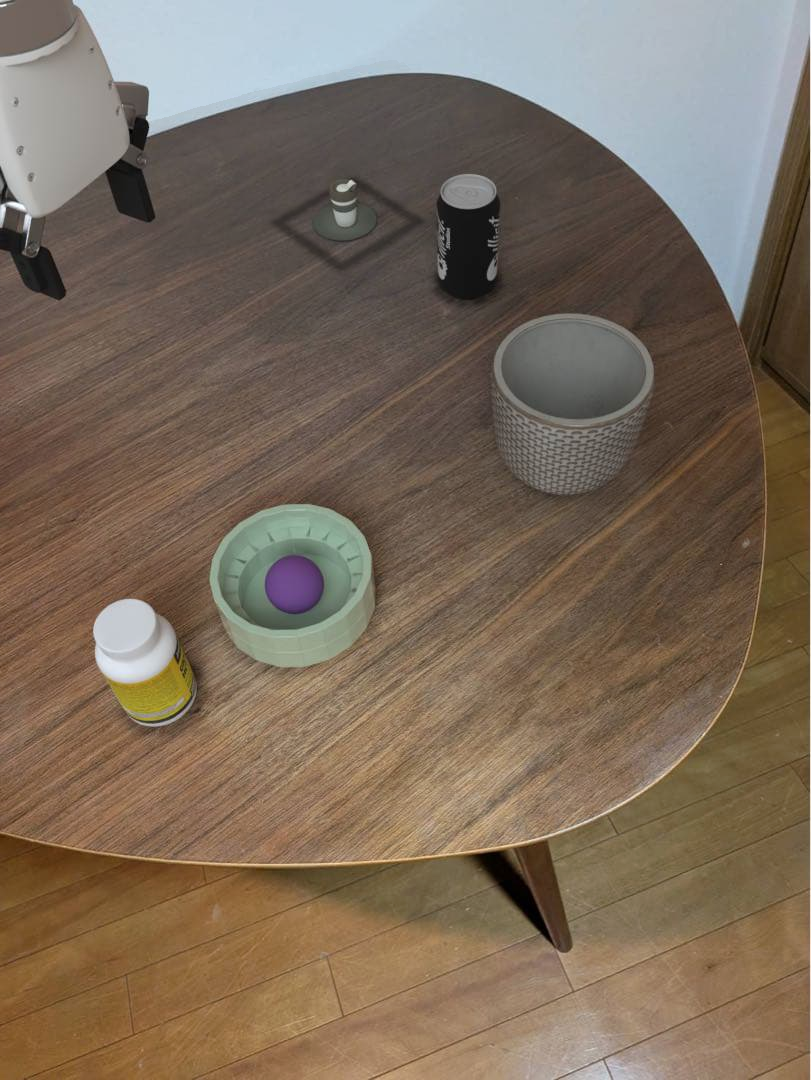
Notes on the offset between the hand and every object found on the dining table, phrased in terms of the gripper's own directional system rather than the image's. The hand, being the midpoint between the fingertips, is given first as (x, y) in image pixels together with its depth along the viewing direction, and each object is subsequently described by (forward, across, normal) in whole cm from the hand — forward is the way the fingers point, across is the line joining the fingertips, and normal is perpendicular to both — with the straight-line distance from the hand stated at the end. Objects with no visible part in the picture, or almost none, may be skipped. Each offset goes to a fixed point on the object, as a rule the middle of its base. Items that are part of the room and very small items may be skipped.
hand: (94, 252), depth 71 cm
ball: (+28, +4, +16) cm, 32 cm away
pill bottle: (+28, +17, +11) cm, 35 cm away
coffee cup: (+28, -43, -9) cm, 53 cm away
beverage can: (+28, -40, +9) cm, 50 cm away
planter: (+28, -21, +30) cm, 46 cm away
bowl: (+28, +4, +16) cm, 33 cm away
